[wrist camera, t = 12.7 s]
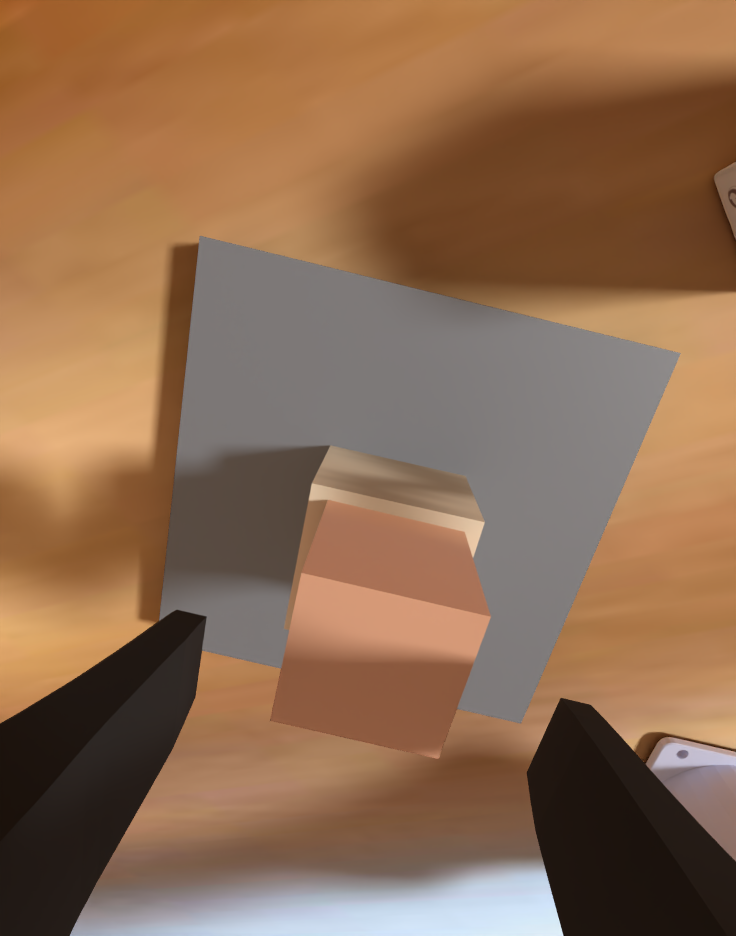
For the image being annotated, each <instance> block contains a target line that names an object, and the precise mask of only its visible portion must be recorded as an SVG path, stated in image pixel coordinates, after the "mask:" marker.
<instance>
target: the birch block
mask: <svg viewBox="0 0 736 936" xmlns="http://www.w3.org/2000/svg"><path fill="white" fill-rule="evenodd" d="M328 500H332V501H336V502H340V503H344V504H349V505H353V506H357V507H361V508H366V509H370V510H374V511H378V512H383V513H387V514H391V515H395V516H400V517H404V518H408V519H412V520H417V521H421V522H425V523H429V524H434V525H438V526H442V527H446V528H451V529H455V530H459V531H463V532H465V534H466V538H467V541H468V544H469V547H470V551H471V554H472V557H474V554H475V551H476V548H477V545H478V542H479V539H480V536H481V532H482V529H483V526H484V523H485V521H484V519H483V517H482V514H481V512H480V509H479V507H478V505H477V502H476V500H475V498H474V495H473V493H472V490H471V488H470V486H469V483H468V481H467V478H466V476H463V475H459V474H454V473H450V472H446V471H441V470H437V469H432V468H428V467H424V466H419V465H415V464H410V463H406V462H402V461H397V460H393V459H388V458H384V457H380V456H375V455H371V454H366V453H362V452H357V451H353V450H349V449H344V448H340V447H335V446H331V445H330V447H329V449H328V452H327V454H326V456H325V458H324V460H323V462H322V464H321V466H320V468H319V470H318V472H317V474H316V476H315V478H314V480H313V482H312V485H311V490H310V496H309V501H308V506H307V511H306V516H305V521H304V527H303V532H302V537H301V542H300V547H299V552H298V558H297V563H296V568H295V573H294V578H293V583H292V589H291V594H290V599H289V604H288V609H287V614H286V620H285V625H284V629H286V630H289V629H290V624H291V620H292V615H293V610H294V605H295V601H296V596H297V591H298V586H299V582H300V577H301V572H302V570H303V567H304V564H305V561H306V559H307V556H308V553H309V550H310V548H311V545H312V542H313V539H314V537H315V534H316V531H317V528H318V526H319V523H320V520H321V518H322V515H323V512H324V509H325V507H326V504H327V501H328Z"/></svg>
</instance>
